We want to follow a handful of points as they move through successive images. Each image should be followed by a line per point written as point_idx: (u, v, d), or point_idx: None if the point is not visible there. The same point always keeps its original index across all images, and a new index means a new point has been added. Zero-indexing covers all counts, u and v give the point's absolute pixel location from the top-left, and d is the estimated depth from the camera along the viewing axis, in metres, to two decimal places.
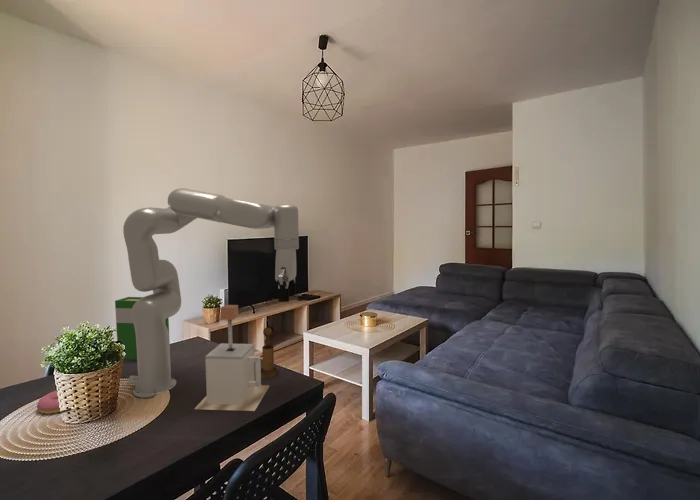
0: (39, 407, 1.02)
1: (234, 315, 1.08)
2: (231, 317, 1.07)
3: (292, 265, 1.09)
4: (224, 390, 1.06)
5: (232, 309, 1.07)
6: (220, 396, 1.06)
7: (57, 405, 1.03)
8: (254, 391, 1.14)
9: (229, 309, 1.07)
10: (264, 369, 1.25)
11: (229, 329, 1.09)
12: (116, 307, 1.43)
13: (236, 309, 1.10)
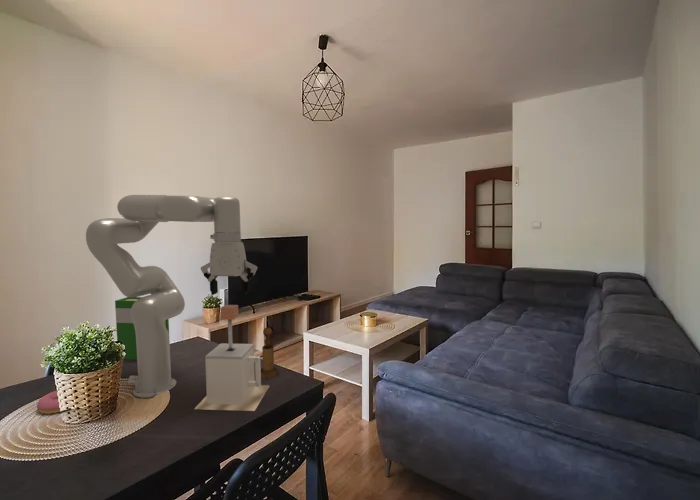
0: (39, 407, 1.02)
1: (234, 315, 1.08)
2: (231, 317, 1.07)
3: None
4: (224, 390, 1.06)
5: (232, 309, 1.07)
6: (220, 396, 1.06)
7: (57, 405, 1.03)
8: (254, 391, 1.14)
9: (229, 309, 1.07)
10: (264, 369, 1.25)
11: (229, 329, 1.09)
12: (116, 307, 1.43)
13: (236, 309, 1.10)
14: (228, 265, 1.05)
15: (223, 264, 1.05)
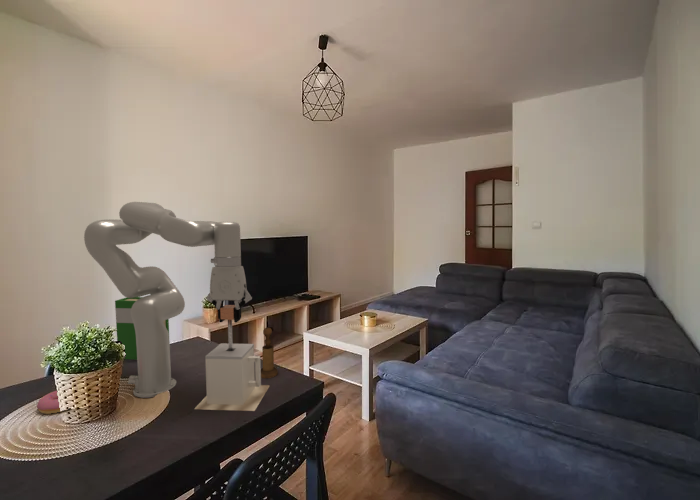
0: (39, 407, 1.02)
1: None
2: (231, 317, 1.07)
3: None
4: (224, 390, 1.06)
5: (232, 309, 1.07)
6: (220, 396, 1.06)
7: (57, 405, 1.03)
8: (254, 391, 1.14)
9: (229, 309, 1.07)
10: (264, 369, 1.25)
11: (229, 329, 1.09)
12: (116, 307, 1.43)
13: None
14: (228, 290, 1.06)
15: (223, 288, 1.06)
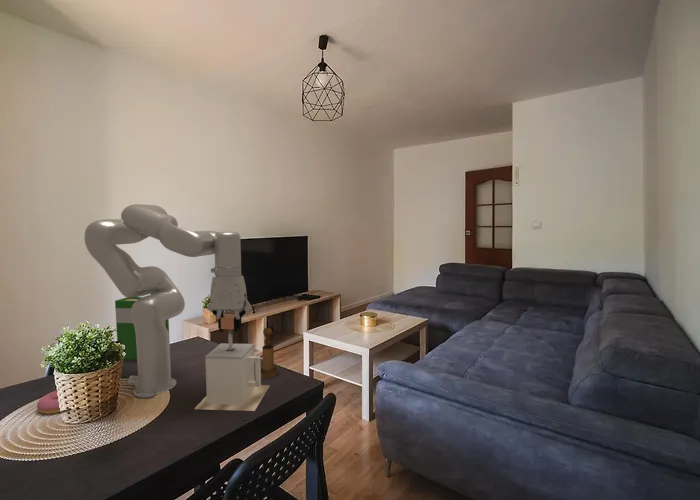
0: (39, 407, 1.02)
1: None
2: (231, 327, 1.08)
3: None
4: (224, 390, 1.06)
5: (232, 319, 1.07)
6: (220, 396, 1.06)
7: (57, 405, 1.03)
8: (254, 391, 1.14)
9: (229, 319, 1.07)
10: (264, 369, 1.25)
11: (229, 339, 1.09)
12: (116, 307, 1.43)
13: None
14: (228, 299, 1.06)
15: (223, 298, 1.06)
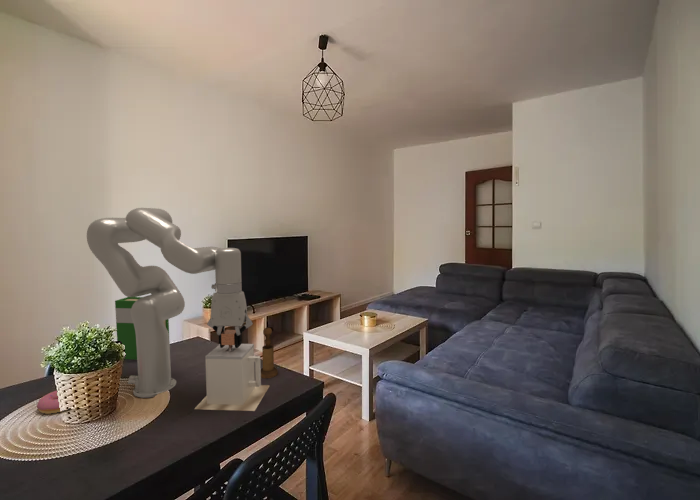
0: (39, 407, 1.02)
1: None
2: (232, 343, 1.08)
3: None
4: (224, 390, 1.06)
5: (233, 335, 1.08)
6: (220, 396, 1.06)
7: (57, 405, 1.03)
8: (254, 391, 1.14)
9: (230, 335, 1.08)
10: (264, 369, 1.25)
11: None
12: (116, 307, 1.43)
13: None
14: (229, 316, 1.07)
15: (224, 315, 1.07)
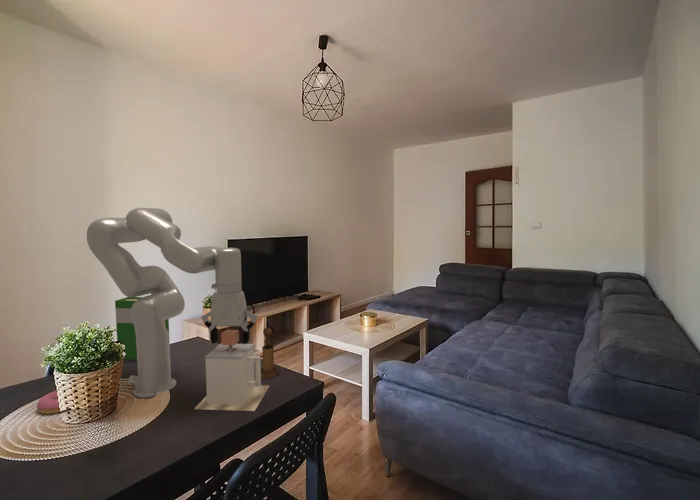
0: (39, 407, 1.02)
1: (235, 341, 1.09)
2: (232, 343, 1.08)
3: None
4: (224, 390, 1.06)
5: (233, 335, 1.08)
6: (220, 396, 1.06)
7: (57, 405, 1.03)
8: (254, 391, 1.14)
9: (230, 335, 1.08)
10: (264, 369, 1.25)
11: None
12: (116, 307, 1.43)
13: (237, 334, 1.10)
14: (229, 316, 1.07)
15: (224, 315, 1.07)
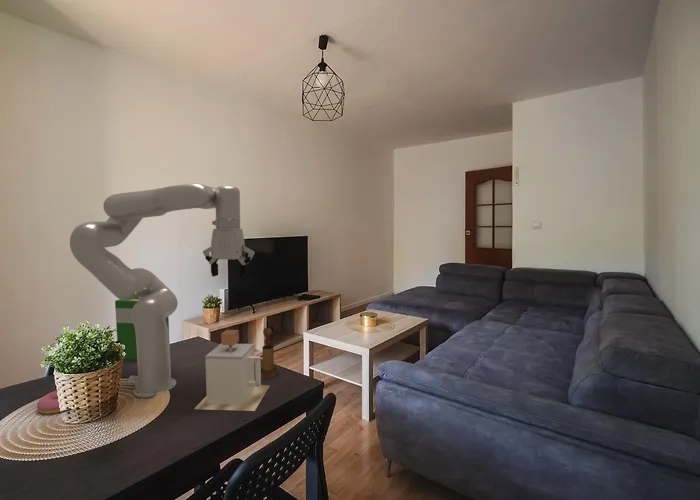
0: (39, 407, 1.02)
1: (235, 341, 1.09)
2: (232, 343, 1.08)
3: None
4: (224, 390, 1.06)
5: (233, 335, 1.08)
6: (220, 396, 1.06)
7: (57, 405, 1.03)
8: (254, 391, 1.14)
9: (230, 335, 1.08)
10: (264, 369, 1.25)
11: None
12: (116, 307, 1.43)
13: (237, 334, 1.10)
14: (227, 249, 1.14)
15: (223, 248, 1.14)
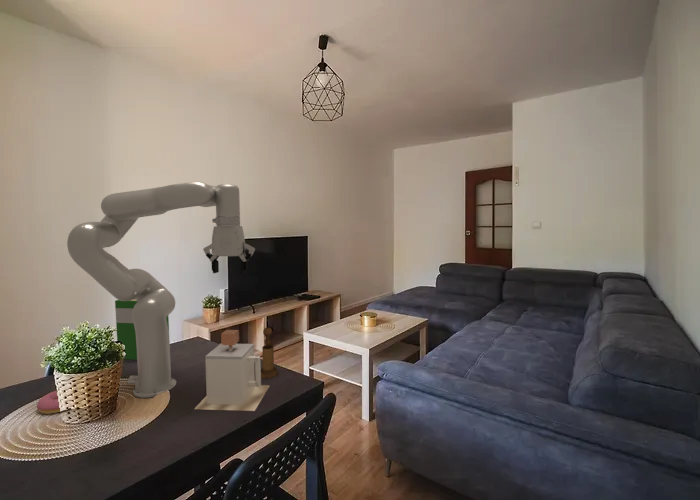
0: (39, 407, 1.02)
1: (235, 341, 1.09)
2: (232, 343, 1.08)
3: None
4: (224, 390, 1.06)
5: (233, 335, 1.08)
6: (220, 396, 1.06)
7: (57, 405, 1.03)
8: (254, 391, 1.14)
9: (230, 335, 1.08)
10: (264, 369, 1.25)
11: None
12: (116, 307, 1.43)
13: (237, 334, 1.10)
14: (228, 246, 1.16)
15: (224, 245, 1.16)
